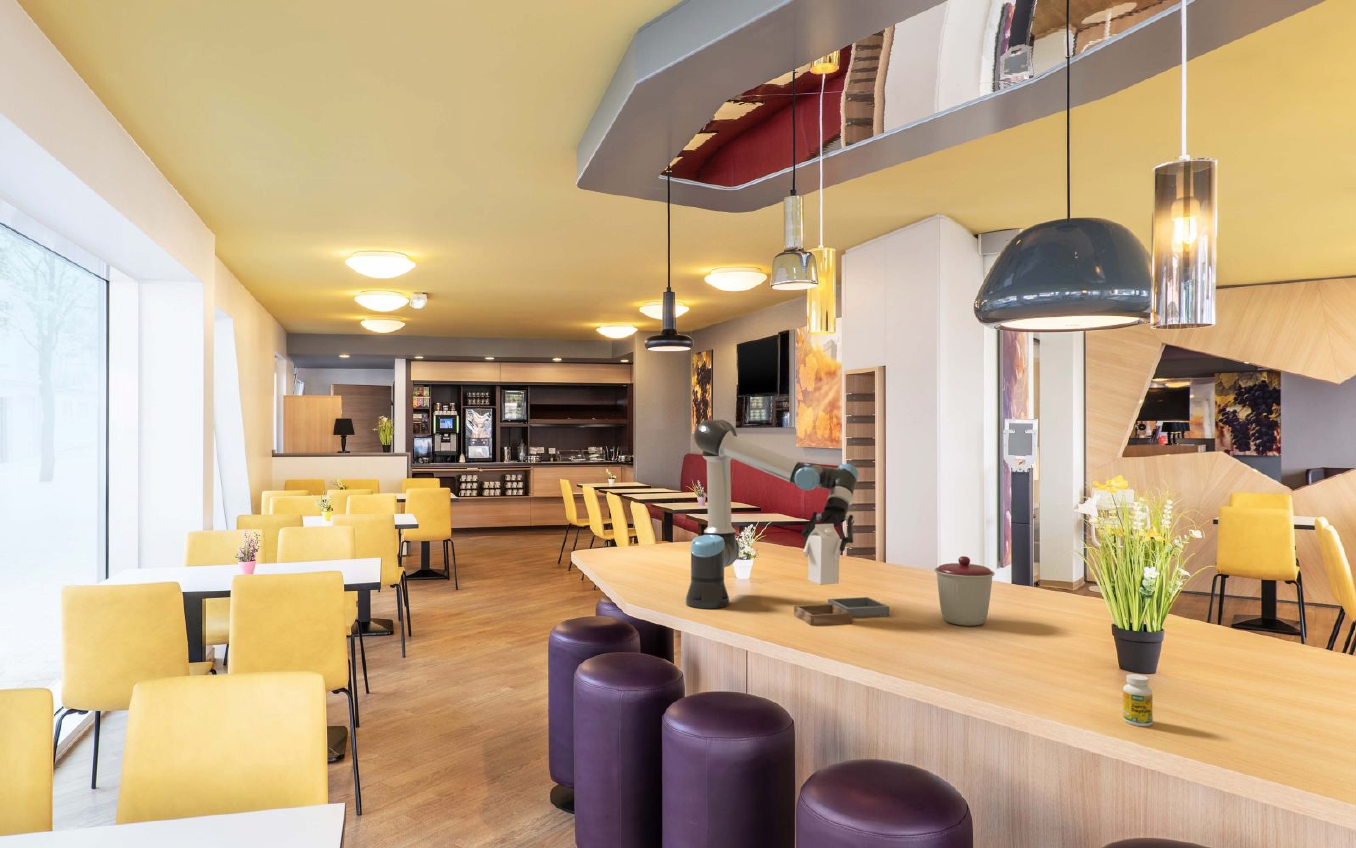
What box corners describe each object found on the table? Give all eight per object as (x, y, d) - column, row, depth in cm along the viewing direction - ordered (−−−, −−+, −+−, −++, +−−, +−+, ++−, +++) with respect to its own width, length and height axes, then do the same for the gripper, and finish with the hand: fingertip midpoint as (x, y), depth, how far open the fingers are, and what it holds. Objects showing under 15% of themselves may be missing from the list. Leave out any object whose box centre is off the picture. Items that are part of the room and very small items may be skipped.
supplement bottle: (1146, 718, 170) (1146, 673, 170) (1157, 728, 164) (1157, 681, 164) (1119, 717, 170) (1119, 672, 171) (1129, 726, 165) (1129, 680, 165)
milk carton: (807, 581, 259) (809, 523, 259) (825, 579, 262) (827, 522, 262) (820, 585, 252) (821, 525, 252) (838, 584, 255) (840, 525, 255)
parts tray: (828, 607, 273) (828, 599, 273) (867, 605, 277) (867, 597, 277) (847, 618, 259) (847, 608, 259) (889, 615, 262) (889, 606, 262)
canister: (985, 616, 262) (985, 552, 262) (1002, 630, 244) (1002, 561, 244) (928, 615, 263) (929, 551, 264) (941, 628, 245) (941, 560, 246)
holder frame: (794, 615, 262) (794, 606, 262) (833, 613, 266) (833, 604, 266) (811, 625, 249) (811, 615, 249) (852, 623, 252) (852, 613, 252)
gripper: (872, 513, 265) (856, 567, 251) (809, 508, 276) (791, 559, 262) (868, 498, 260) (852, 552, 247) (804, 493, 271) (785, 545, 258)
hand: (820, 556), depth 254 cm, fingers closed on milk carton, 10 cm apart
